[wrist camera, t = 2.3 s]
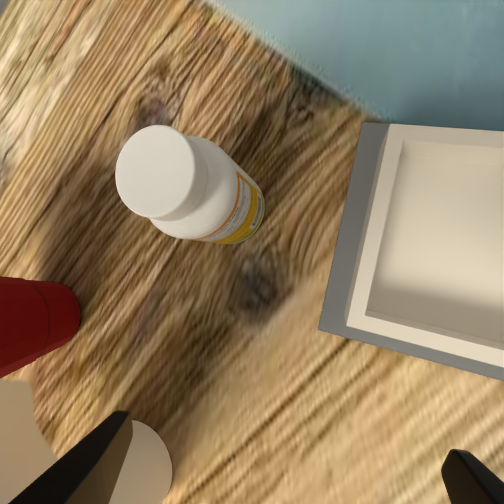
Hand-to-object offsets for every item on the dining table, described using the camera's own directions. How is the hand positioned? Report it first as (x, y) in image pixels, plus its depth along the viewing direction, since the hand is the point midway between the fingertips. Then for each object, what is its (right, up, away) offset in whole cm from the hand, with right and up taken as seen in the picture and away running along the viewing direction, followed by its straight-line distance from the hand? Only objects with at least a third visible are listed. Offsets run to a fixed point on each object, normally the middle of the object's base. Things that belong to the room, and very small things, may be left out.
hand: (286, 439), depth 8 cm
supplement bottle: (-2, +8, +13) cm, 16 cm away
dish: (+11, +5, +9) cm, 15 cm away
